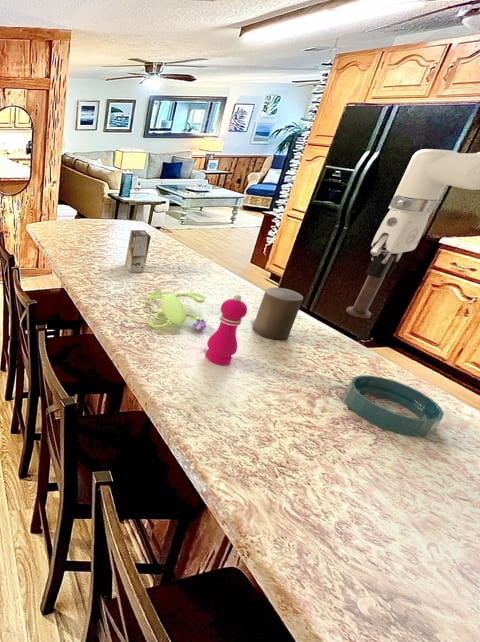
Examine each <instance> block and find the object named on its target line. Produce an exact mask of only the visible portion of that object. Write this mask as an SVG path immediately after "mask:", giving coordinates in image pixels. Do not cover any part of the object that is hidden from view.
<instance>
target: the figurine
mask: <svg viewBox="0 0 480 642" xmlns="http://www.w3.org/2000/svg"><path fill="white" fill-rule="evenodd" d="M160 293H162V289H157V290H155V291H153V292H151V293H150V294H149V295H148V297H147V299H148V300H153V299H160V307H161V309H162V310H159V311H157V312H156V313H155V314H154V318H155V319H156V320H160V321H164V322H165V323H163V324H154V323H152V321H151V316H150V315H147V317H146V323H147V325H148V326H149V327H150V328H152V329H157V330H161V329H162V330H163V329H165V328H168V327H169V326H171V324H174V325H176V326H180V325H183V324H184V323H185V322H186V319H187V317H189V318H193V319H194V320H196V322H195V323H193V324H192V326H193V327H194V328H195V329H196V330H197V331H203V330H204V329H206V328H207V324H206V321H205V320H204V319H203V318H202V319H201V318H200V317H199V316H197V315H196V314H193V313H189V312H187V311H186V310H185V309H186V308H185V307H184V304H183V303H182V302H181V300H180V299H179V297H186V298H189V299H192V300H193V301H194V302H195V303H198V304H203V303H204V302H205V301H206V299H207V297H206V296H205V295H203V294H201V293H197V292H195V291H193V290H190V291H189V293H186V292H179V293H175V294H171V293H165V294H160ZM160 315H164V316H165V318H166V319H164V318H160Z"/></svg>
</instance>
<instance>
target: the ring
mask: <svg viewBox="0 0 480 642" xmlns="http://www.w3.org/2000/svg"><path fill="white" fill-rule="evenodd" d="M365 395H369V396H373V397H374V396H375V397H379V398H382V399H386V400H387V401H390V402H393V403H395V404H398V406H399V405H400V406H401V407H403V408H404V409H407V410H408V411H409V412H411V413H412V414H414V415H415V416H416V417H411V416H407V415H403V414H400V413H397V412H394V411H392V410H389V409H387V408H384V407H382V406H380V405H379V404H377V403H375V402H373V401H372V400H370V399H368V398H367V397H366V396H365ZM341 402H342V403H345V405H347V408H349V409H350V410H351V411H352V412H353V413H354V414H356V415H357V416H358V417H360V418H362V419H364V420H365V421H367V422H368V423H369V424H372V425H374V426H376V427H379V428H381V429H383V430H385V431H388V432H391V433H393V434H397V435H401V436H406V437H410V438H411V437H412V438H425V437H428V436H430V435H432V434H433V432H434V431H435V430H436V428H437V427H438V425H439V424H440V423H441V421H442V419H443V417H444V415H445V413H444V411H443V410H442V407H441V406H440V405H439V404H438V403H437V402H436V401H434V400H433V399H432V398H430V397H429V396H427V395H426V394H425V393H423V392H421V391H419V390H418V389H416V388H413V387H411V386H409V385H407V384H405V383H402V382H398V381H397V380H392V379H389V378H386V377H382V376H375V375H370V374H369V375H367V374H366V375H361V374H360V375H357V376H354V377H353V378H352V379H351V381H350V382H349V384H348V386H347V388H346V390H345V391H344V394H343V395H342V397H341Z"/></svg>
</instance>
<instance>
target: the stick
mask: <svg viewBox="0 0 480 642" xmlns="http://www.w3.org/2000/svg"><path fill="white" fill-rule="evenodd" d="M382 253H383V252H382ZM383 254H384V256H385V253H383ZM394 257H395V256H393V255H390V257H389V259H388V260H387V262H386V264H387V266H386V268H385V270H384V272H383V274H382V276H381V278H375V277H372V276H369V275H367V277H366V279H365V282H364V284H363V286H362V288H361V290H360V292H359V294H358V296H357V298H356V300H355V302H354V304H353V306H351V305H350V306H347V308H346V313H347V314H349V315H351V316H354V317H357V318H361V319H369V318H370V317H371V316H372V312H371V311H370V310H369V309H370V307H371V306H372V305H371V304H372V303H373V301H374V299H375V298H376V297H375V296H376V295H377V293H378V291H379V289H380V287H381V285H382V283H383V281H384V279H385V277H386V276H385V275H386V273H387V271H388V269H389V267H390V265H391V263H392V261H393V259H394Z"/></svg>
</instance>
